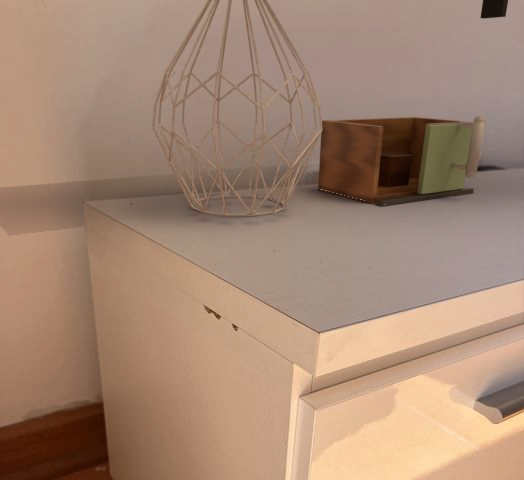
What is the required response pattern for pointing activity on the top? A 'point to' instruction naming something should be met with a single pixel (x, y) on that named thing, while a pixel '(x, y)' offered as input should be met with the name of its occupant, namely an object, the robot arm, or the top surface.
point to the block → (394, 169)
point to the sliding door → (450, 155)
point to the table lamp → (193, 157)
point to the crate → (374, 158)
